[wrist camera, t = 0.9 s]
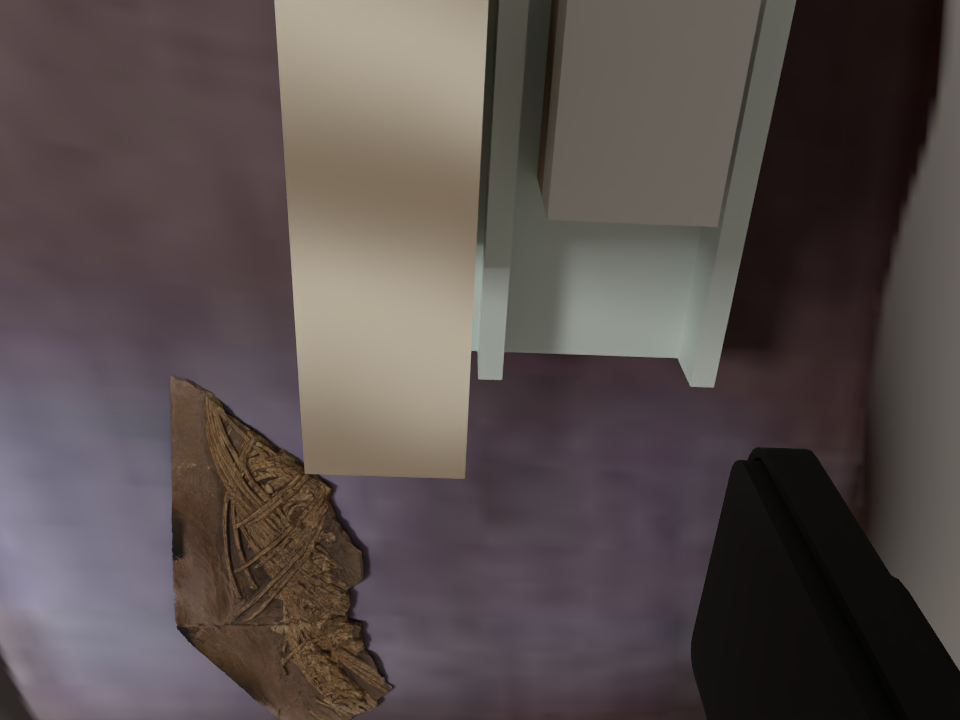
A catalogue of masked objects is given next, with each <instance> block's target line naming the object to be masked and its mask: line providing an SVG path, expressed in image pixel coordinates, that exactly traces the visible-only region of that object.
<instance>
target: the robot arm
mask: <svg viewBox="0 0 960 720" xmlns="http://www.w3.org/2000/svg"><path fill="white" fill-rule="evenodd" d="M691 661H692V668H693V672H694V676H695V680H696V683H697V686H698V690H699V693H700V697H701V700H702V703H703V707H704V710H705V714H706V717H707V720H960V671H959V670H958V668H957V667H956V665H955V663H954V662H953V660H952V659H951V657H950V656H949V654H948V652H947V651H946V649H945V648H944V646H943V644H942V643H941V641H940V640H939V638H938V637H937V635H936V633H935V632H934V630H933V629H932V627H931V626H930V624H929V623H928V621H927V619H926V618H925V616H924V615H923V613H922V612H921V610H920V608H919V607H918V605H917V604H916V602H915V601H914V599H913V598H912V596H911V594H910V593H909V591H908V590H907V589H906V588H905V587H904V585H903V584H902V583H901V582H900V581H899V579H897V578H895V577H893V576H891V575H890V573H889V571H888V570H887V568H886V567H885V566H884V563H883V562H882V560H881V559H880V557H879V555H878V554H877V552H876V551H875V549H874V548H873V546H872V544H871V543H870V541H869V540H868V538H867V536H866V535H865V533H864V532H863V530H862V528H861V527H860V525H859V524H858V522H857V520H856V519H855V517H854V516H853V514H852V513H851V511H850V509H849V508H848V506H847V505H846V503H845V501H844V500H843V498H842V497H841V495H840V493H839V492H838V490H837V489H836V487H835V485H834V484H833V482H832V481H831V479H830V478H829V476H828V474H827V473H826V471H825V470H824V468H823V466H822V465H821V463H820V462H819V460H818V458H817V457H816V456H815V454H814V453H813V452H812V451H811V450H807V449H790V448H760V447H757V448H755V449H753V451H752V452H751V454H750V455H749V458H748V460H738V461H736V462H735V463H734V464H733V466H732V469H731V472H730V476H729V481H728V485H727V489H726V493H725V498H724V502H723V506H722V511H721V515H720V519H719V523H718V528H717V532H716V536H715V541H714V545H713V549H712V554H711V558H710V562H709V566H708V571H707V575H706V579H705V584H704V588H703V592H702V596H701V601H700V605H699V609H698V614H697V618H696V622H695V626H694V631H693V635H692V641H691Z"/></svg>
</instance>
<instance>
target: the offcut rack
mask: <svg viewBox="0 0 960 720" xmlns="http://www.w3.org/2000/svg"><path fill="white" fill-rule="evenodd" d="M551 2H552V0H489V2H488V22H487V42H486V62H485V82H484V102H483V122H482V142H481V162H480V182H479V202H478V223H477V243H476V263H475V283H474V303H473V323H472V343H471V351H478V379H487V380H502V373H503V359H504V352H525V353H552V354H580V355H608V356H635V357H663V358H678V360H679V362H680V365H681V367H682V369H683V371H684V374H685V376H686V378H687V380H688V382H689V385H690V387H714V384H715V379H716V374H717V370H718V365H719V360H720V356H721V351H722V346H723V342H724V337H725V332H726V327H727V323H728V318H729V313H730V309H731V304H732V299H733V295H734V290H735V285H736V281H737V276H738V271H739V267H740V262H741V257H742V253H743V248H744V243H745V238H746V234H747V229H748V224H749V220H750V215H751V210H752V206H753V201H754V196H755V192H756V187H757V182H758V178H759V173H760V168H761V164H762V159H763V154H764V149H765V145H766V140H767V135H768V131H769V126H770V121H771V117H772V112H773V107H774V103H775V98H776V93H777V89H778V84H779V79H780V74H781V70H782V65H783V60H784V56H785V51H786V46H787V42H788V37H789V32H790V28H791V23H792V18H793V14H794V9H795V4H796V0H761V5H760V10H759V15H758V21H757V26H756V31H755V36H754V41H753V46H752V51H751V56H750V62H749V67H748V72H747V77H746V82H745V87H744V92H743V98H742V103H741V108H740V113H739V118H738V123H737V128H736V133H735V139H734V144H733V149H732V154H731V159H730V164H729V169H728V174H727V180H726V185H725V190H724V195H723V200H722V205H721V210H720V216H719V221H718V226H717V227H703V226H679V225H656V224H632V223H608V222H584V221H560V220H547V217H546V212H545V208H544V204H543V200H542V196H541V192H540V188H539V184H538V180H537V170H538V158H539V146H540V134H541V122H542V110H543V98H544V86H545V74H546V62H547V50H548V38H549V26H550V14H551Z"/></svg>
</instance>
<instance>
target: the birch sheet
mask: <svg viewBox="0 0 960 720" xmlns="http://www.w3.org/2000/svg"><path fill="white" fill-rule="evenodd" d="M488 2H489V0H275V16H276V32H277V47H278V63H279V79H280V94H281V110H282V126H283V141H284V157H285V173H286V188H287V204H288V219H289V235H290V251H291V266H292V282H293V298H294V313H295V329H296V345H297V360H298V376H299V392H300V407H301V423H302V439H303V454H304V470H305V474H328V475H360V476H393V477H426V478H458V479H465V463H466V443H467V423H468V403H469V383H470V363H471V343H472V323H473V303H474V283H475V263H476V243H477V223H478V202H479V182H480V162H481V142H482V122H483V102H484V82H485V62H486V42H487V22H488Z"/></svg>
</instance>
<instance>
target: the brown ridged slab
mask: <svg viewBox="0 0 960 720" xmlns="http://www.w3.org/2000/svg"><path fill="white" fill-rule="evenodd" d="M170 394H171V396H170V400H171V463H172V533H173V539H172V546H173V547H172V553H173V555H172V557H173V559H172V560H173V577H174V586H173V588H174V592H175V596H176V599H175V601H176V602H177V603H175V604H174V606H175V621H176V623H177V624H178V625H177V629H178V630H179V631H180V632H181V634H183V635H184V636H185V637H186V639H187V640H188V642H190V643H191V644H192V645H193V646H194V647H195V648H196V649H197V650H198V651H200V652H201V653H202V654H203V655H205V656H206V657H207V658H208V659H209V660H210V661H211V662H212V663H213V664H215V665H216V666H217V667H218V668H219V669H220V670H222V671H223V672H225V674H226V675H228V676H229V677H230V678H231V679H232V680H233V681H234V682H236V683H237V684H238V685H239V686H240V687H241V688H243V689H244V690H245V691H246V692H247V693H248V694H249V695H250V696H251V697H252V698H253V699H255V700H257V701H258V702H259V703H260V704H261V705H262V706H263V707H265V708H266V709H267V710H268V712H270V713H271V714H273V715H275V717H276V719H278V720H349V719H350V718H352V717H353V716H354V715H359V714H361V713H362V712H366V711H371V710H372V709H373V708H375V707H376V705H377V699H379V698H380V697H382V696H383V695H385V694H386V693H387V692H389V691H390V690H391V689H392V686H391V685H390V684H388V683H386V681H385V677H384V676H382V675H381V674H380V673H379V672H378V671H377V665H376V663H375V660H374V659H372V657H371V656H370V655H369V654H368V652H367V651H366V650H365V649H364V648H365V647H364V638H363V636H362V623H360V622H357V621H354V620H351V619H349V618H348V612H349V610H348V609H349V607H350V592H349V591H348V589H349V588H351V587H353V586H354V585H356V584H358V583H359V582H360V581H361V580H362V579H363V561H362V553H361V551H360V549H357V548H356V547H355V546H354V545H353V544H352V542H351V540H350V538H349V536H348V534H347V533H346V532H345V531H344V530H343V528H342V527H341V525H340V523H339V522H338V520H337V519H336V518H335V516H336V515H335V512H334V510H333V508H332V506H331V503H330V501H329V498H330V496H331V494H332V491H333V490H332V488H331V487H330V486H329V485H328V484H327V483H326V482H324V481H323V480H322V478H321V477H320V476H319V475H318V474H305V470H304V466H303V465H302V464H301V463H300V462H299V461H298V460H297V459H296V458H295V457H294V456H292V455H290V454H289V453H288V452H286V451H285V450H284V449H278V448H276V447H274V446H273V444H272V443H271V442H270V441H268V440H267V439H265V438H263V437H262V436H260V435H258V434H256V433H255V432H253V431H252V430H250V429H249V428H248V427H247V426H245V425H243V424H242V423H240V422H239V421H238V420H237V419H236V418H235V417H233V416H230V415H228V414H226V413H225V411H224V409H223V405H222V403H221V402H220V401H219V400H218V399H217V398H216V397H215V396H214V395H213V394H212V393H211V392H209V391H207V390H205V389H204V388H202V387H200V386H199V385H197V384H195V383H193V382H191V381H190V380H188V379H183V378H179V377H176V376H173V375H171V379H170ZM181 625H182V626H181Z"/></svg>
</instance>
